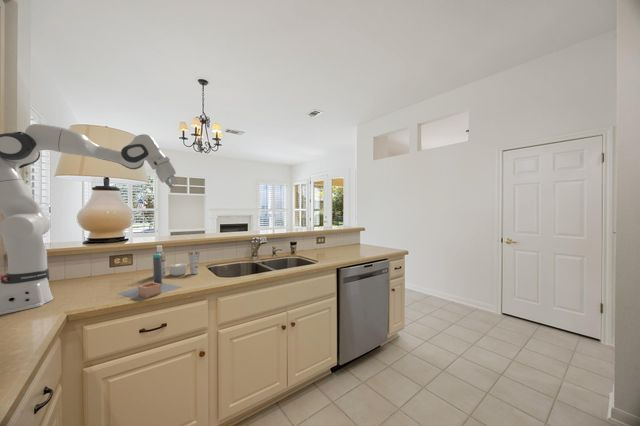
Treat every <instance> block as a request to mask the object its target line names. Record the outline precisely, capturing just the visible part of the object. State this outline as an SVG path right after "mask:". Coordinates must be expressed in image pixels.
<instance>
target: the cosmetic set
mask: <svg viewBox="0 0 640 426" xmlns="http://www.w3.org/2000/svg"><path fill="white" fill-rule="evenodd" d="M187 253H188V254H187V255H188V259H189V269H190V270H189V274H190V275H197V274H198V273H199V259H200V253H201V250H189V251H187ZM155 254H162V257H161V262H162V278H163V277H166V276H167V256H166V254H165V253H164V251H163V246H162V245H156V252H155ZM187 265H188V264H187V263H186V262H185V263H183V262H180V263H172V264H170V265H169V266H168V268H169V270H168V271H169V274H170V275H171V276H173V277H174V276H176V277H177V276H178V277H179V276H184V275H185V274H186V273H187V270H188V268H187V267H188V266H187ZM152 270H153V271H152V273H153V278H154V269H153V268H152Z"/></svg>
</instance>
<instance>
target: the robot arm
mask: <svg viewBox="0 0 640 426" xmlns="http://www.w3.org/2000/svg"><path fill="white" fill-rule="evenodd" d="M40 151H54V152H58V153H63V154H69V155H77V156H83V157H88V158H89V157H90V158H95V159H99V160H103V161H107V162H112V163H117V164H120V165H121V166H123V167H125V168H127V169H128V170H138V169H141V168H142V167H143V166H144V164H145V161H146V162H147V163H148V164H149V166H150V168H151V169H152V170H153V171H154V170H155V174H156V176H157V178H158V179H159V181H160V182H161V183H162V184H163V183H165V185H166V186H167V187H168V188H169V189H172V188H174V186H175V185H177V184H178V182H177V180H176V177H175V174H176V170H175V168H174V166H173V164H172V163H171V161H170V160H171V158H169V156H165V154H164V153H163V152H162V151H161V148H160V146H159V144H158V143H157V142H156V140H155V139H154V138H153V137H152V136H151V135H149V134H143V133H142V134H139V135H136V136H134V137H133V139H132V140H131V142H129V144H128V143H127V145H125V146H124V147H122V149H121V151H120V150H116V149H112V148H107V147H104V146H102V145H98V144H96V143H95V142H93V141H92V140H91V139H90V138H88V137H87V136H86V135H85V134H83V133H81V132H78V131H76V130H73V129H69V128H65V127H59V126H55V125H49V124H42V123H41V124H40V123H32V124H29V125H28V126H27V127H26V129H25V132H23V131H14V132H13V131H12V132H5V133H0V213H1V214H2V215H3V216H4V217H5V218H4V219H3V220H2V221H1V222H0V236H2V237H1V238H2V242H3V245H4V247H5V250H6V254H7V273H6V274H0V316H2V315H6V314H10V313H15V312H19V311H24V310H29V309H34V308H38V307H42V306H43V305H45V304H46V303H49V302H51V301H53V300H54V295H52V294H53V293H52V292H51V289H50V284H49V281H50V269H49V268H48V251H47V249H46V246H45V243H44V239H43V236H44V235H46V234H47V233H48V232H49V231H50V229H51V225H52V224H51V220H50V219H49V218H48V217H47V216H46V214H45V213H44V211H43V209H42V208H41V207H40V205H39V204H38V203H37V201H36V200H35V198H33V195H32V194H31V192H30V189H28V186H27V184H26V182H25V181H24V179H23V177H22V175H21V173H20V170H19V169H22V168H24V167H27V166H30V165H32V164H34V163H36V162H38V161H39V160H40V157H41V153H40ZM170 180H171V182H172V183H171V182H170Z"/></svg>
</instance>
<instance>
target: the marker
mask: <svg viewBox="0 0 640 426" xmlns="http://www.w3.org/2000/svg"><path fill="white" fill-rule="evenodd" d="M161 257H162V254H156V253H155V254H153V255H152V267H153V268H152V270H153V269H154V277H153V282H154V283H159V284H162V283H163V282H162V280H163V277H162V262H161Z"/></svg>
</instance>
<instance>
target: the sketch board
mask: <svg viewBox="0 0 640 426" xmlns="http://www.w3.org/2000/svg"><path fill="white" fill-rule="evenodd" d="M180 288H182V286H181V285H175V284H171V283H166V282H162V284H161V294H160V295H162V294H164V293H168V292H170V291H174V290H178V289H180ZM117 294H118V295H121V296H124V297H128V298H132V299H134V300H139V301H143V300H146V299H148V298H152V297H155V296H156V295H154V296H151V297H148V298H145V297H141V296H138V287H137V288H132V289H128V290H125V291H121V292H118V293H117Z"/></svg>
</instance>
